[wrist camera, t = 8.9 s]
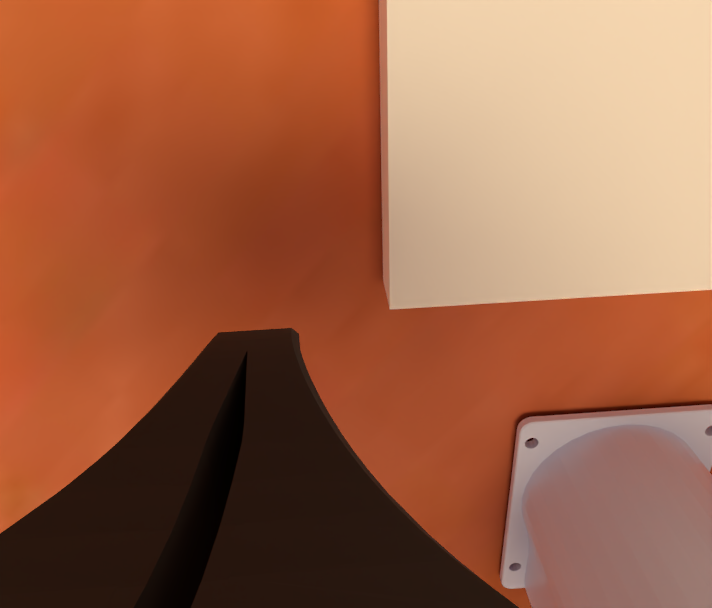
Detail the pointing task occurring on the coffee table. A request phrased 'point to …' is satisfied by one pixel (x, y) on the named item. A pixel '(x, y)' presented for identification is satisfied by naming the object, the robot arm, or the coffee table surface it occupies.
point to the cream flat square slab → (544, 149)
